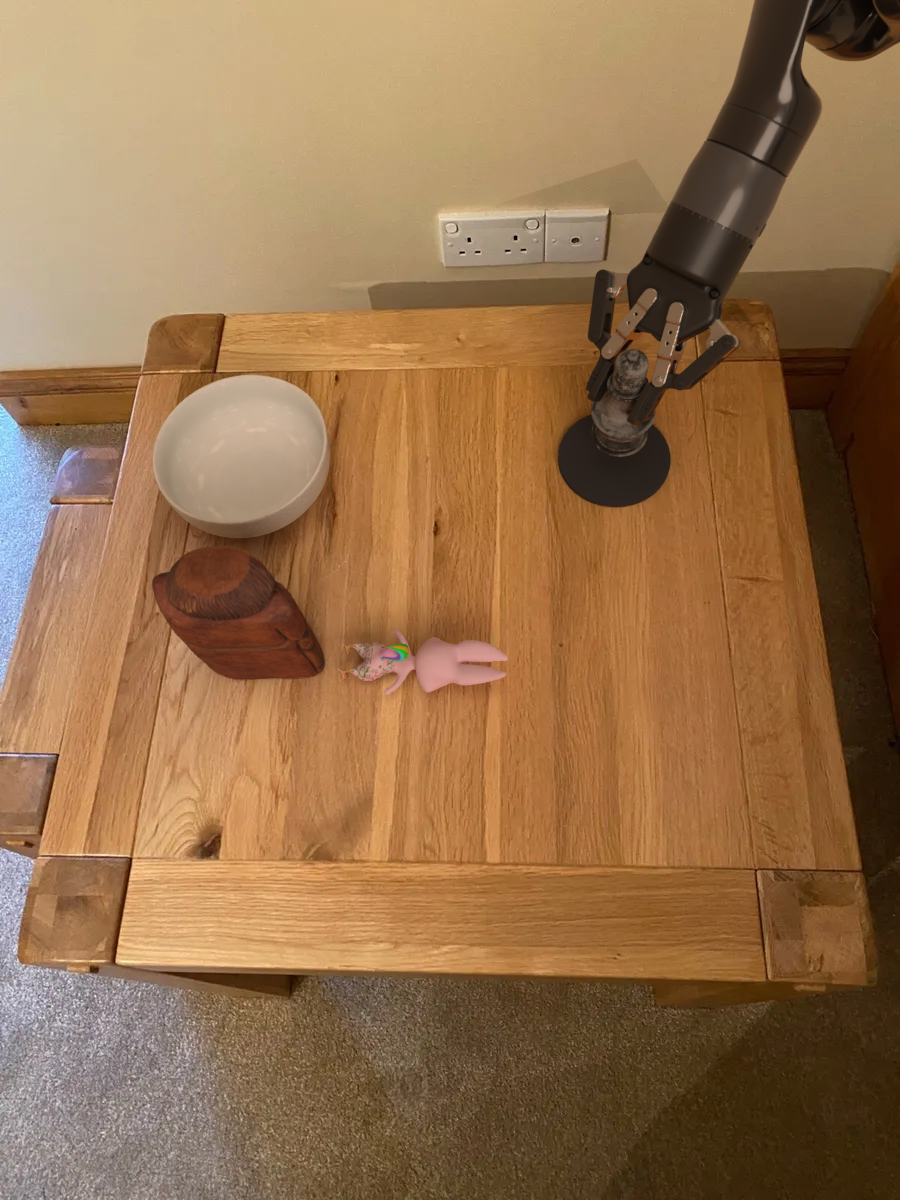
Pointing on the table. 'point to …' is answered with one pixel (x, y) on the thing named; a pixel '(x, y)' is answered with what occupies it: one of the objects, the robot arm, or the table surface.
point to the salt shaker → (621, 407)
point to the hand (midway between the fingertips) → (613, 410)
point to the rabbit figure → (428, 662)
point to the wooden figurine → (237, 616)
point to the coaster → (612, 467)
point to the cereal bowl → (242, 456)
